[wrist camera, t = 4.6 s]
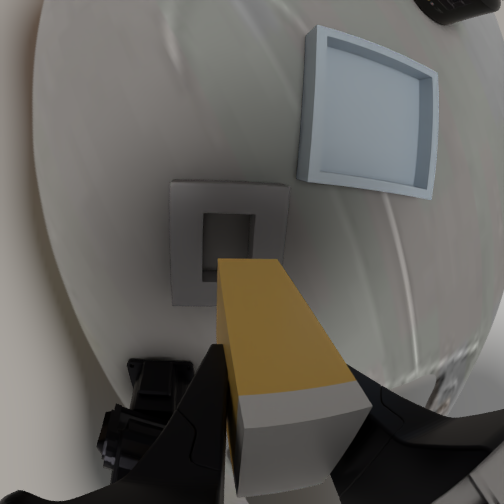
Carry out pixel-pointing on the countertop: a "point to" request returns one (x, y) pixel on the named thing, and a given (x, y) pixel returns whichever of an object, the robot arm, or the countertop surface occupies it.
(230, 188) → the block
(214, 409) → the robot arm
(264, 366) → the block
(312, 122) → the parts tray
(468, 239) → the countertop surface
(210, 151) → the countertop surface
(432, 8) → the supplement bottle
